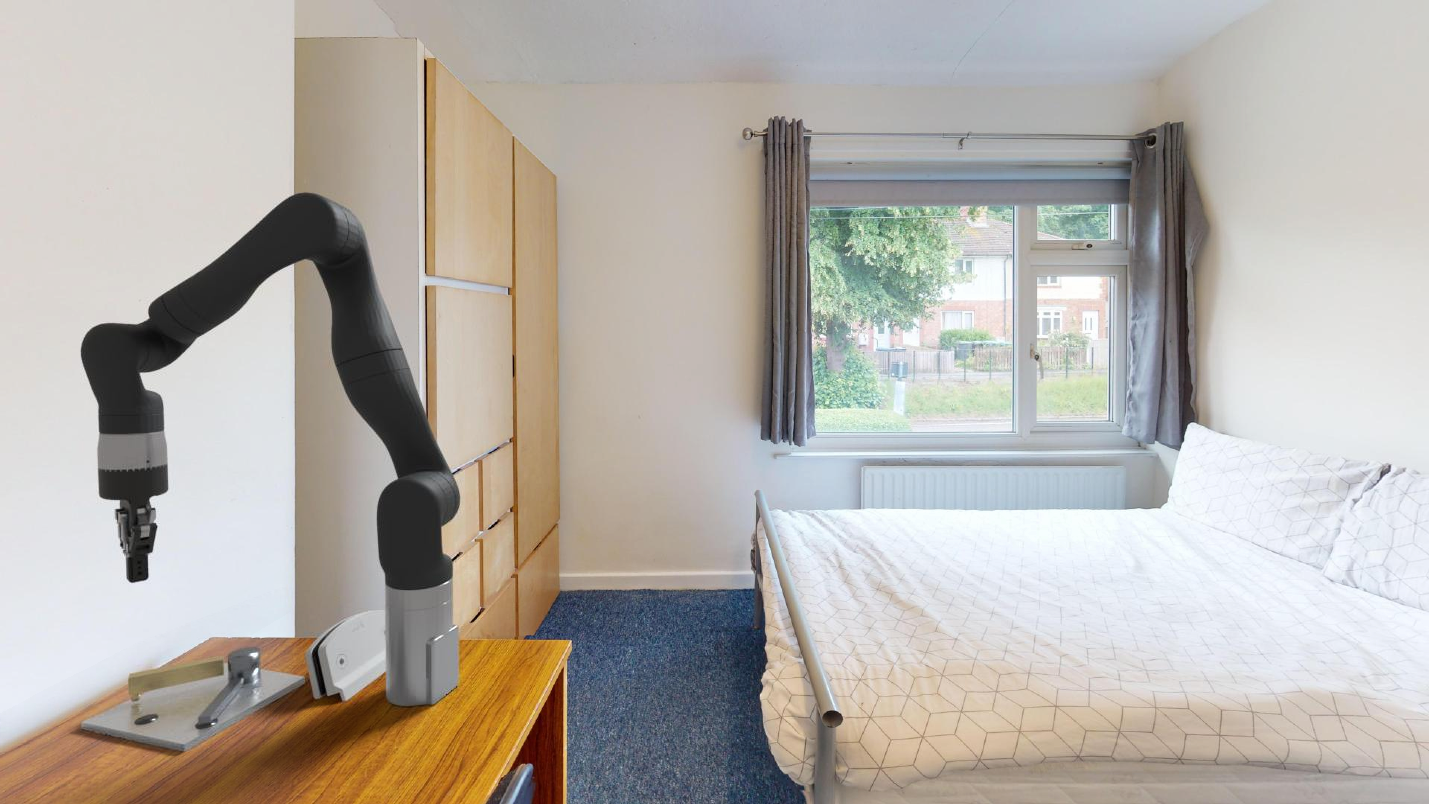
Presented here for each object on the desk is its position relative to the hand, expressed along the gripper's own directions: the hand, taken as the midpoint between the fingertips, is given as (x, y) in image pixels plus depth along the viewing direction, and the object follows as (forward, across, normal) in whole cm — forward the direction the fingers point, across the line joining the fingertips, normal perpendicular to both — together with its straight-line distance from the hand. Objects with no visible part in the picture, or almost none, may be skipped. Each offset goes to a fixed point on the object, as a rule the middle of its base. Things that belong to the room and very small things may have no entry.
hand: (137, 580), depth 95 cm
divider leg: (+15, -7, -3) cm, 17 cm away
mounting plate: (+17, -11, -5) cm, 21 cm away
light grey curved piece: (+17, -18, -23) cm, 34 cm away
